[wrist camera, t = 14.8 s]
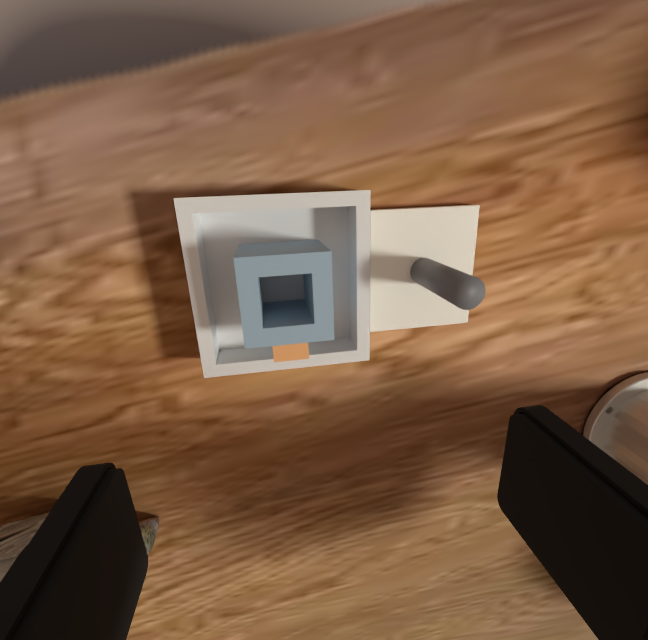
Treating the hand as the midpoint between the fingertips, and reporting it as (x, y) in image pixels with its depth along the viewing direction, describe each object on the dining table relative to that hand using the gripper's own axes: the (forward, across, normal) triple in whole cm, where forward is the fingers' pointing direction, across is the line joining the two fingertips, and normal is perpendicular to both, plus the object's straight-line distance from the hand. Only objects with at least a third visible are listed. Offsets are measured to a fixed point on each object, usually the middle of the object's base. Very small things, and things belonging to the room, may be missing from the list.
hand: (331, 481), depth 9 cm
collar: (+21, 0, 0) cm, 21 cm away
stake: (+22, -12, 0) cm, 25 cm away
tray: (+22, 0, 0) cm, 22 cm away
